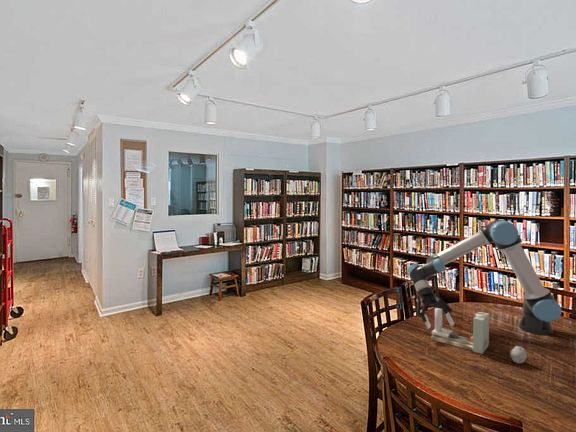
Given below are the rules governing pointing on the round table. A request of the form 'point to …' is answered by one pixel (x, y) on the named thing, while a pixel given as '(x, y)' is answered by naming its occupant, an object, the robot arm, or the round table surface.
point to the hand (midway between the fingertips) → (441, 326)
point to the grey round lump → (518, 354)
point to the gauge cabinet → (480, 332)
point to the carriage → (441, 326)
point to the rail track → (454, 341)
